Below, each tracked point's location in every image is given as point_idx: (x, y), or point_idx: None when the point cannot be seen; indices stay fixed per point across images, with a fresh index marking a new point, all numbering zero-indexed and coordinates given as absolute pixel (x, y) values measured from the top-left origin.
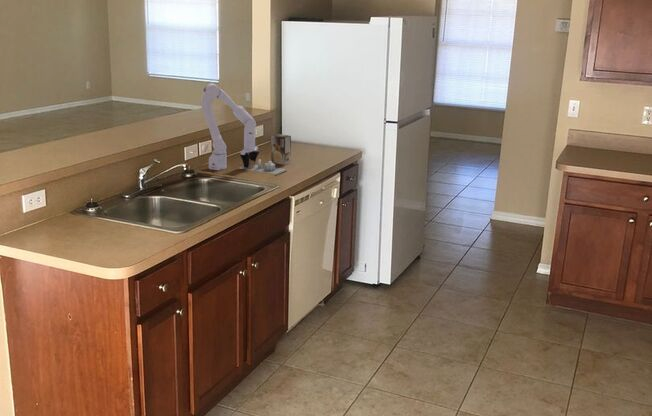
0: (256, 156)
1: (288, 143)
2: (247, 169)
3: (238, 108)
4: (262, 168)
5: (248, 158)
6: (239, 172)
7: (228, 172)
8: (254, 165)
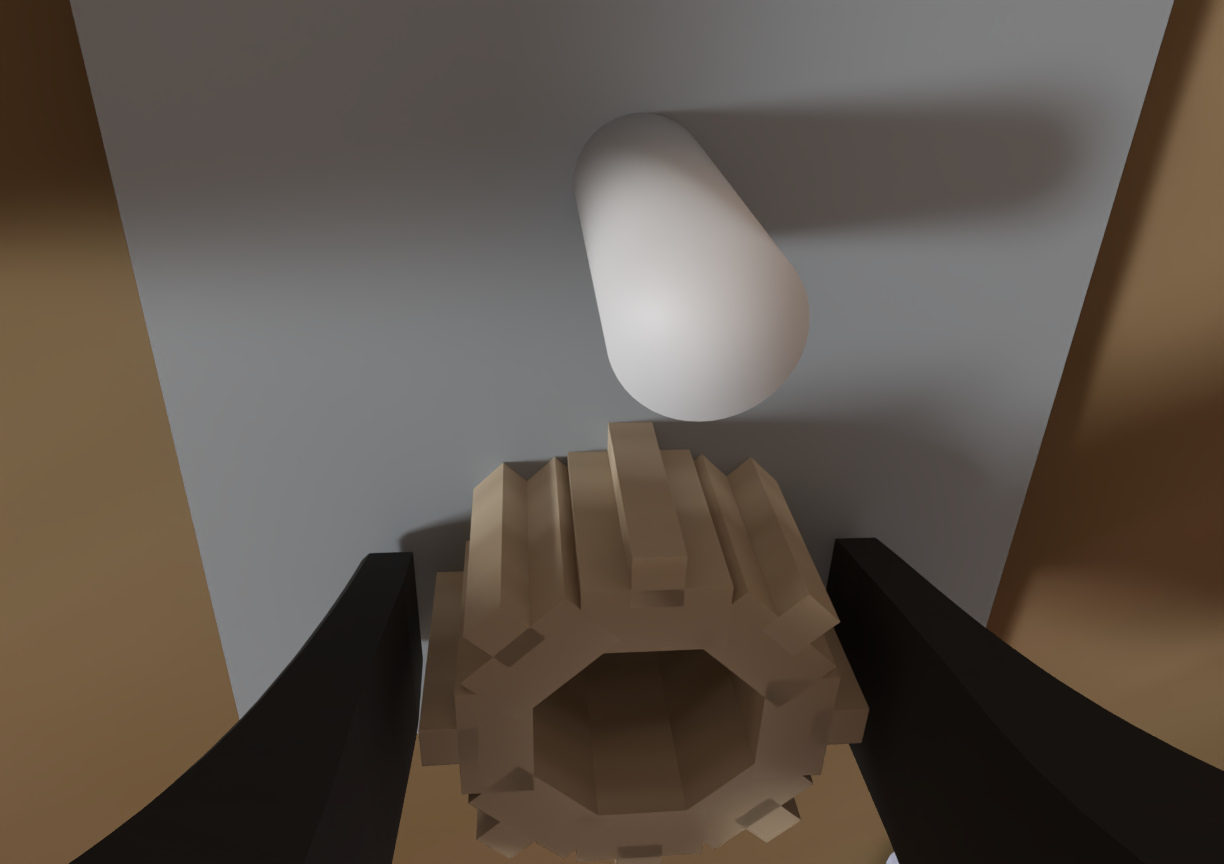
0: (255, 781)
1: None
2: (1029, 442)
3: None
4: (610, 35)
5: (1180, 765)
6: (1145, 534)
7: (1217, 717)
8: (511, 490)
